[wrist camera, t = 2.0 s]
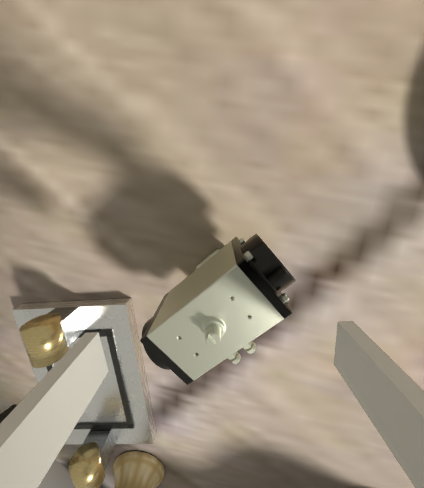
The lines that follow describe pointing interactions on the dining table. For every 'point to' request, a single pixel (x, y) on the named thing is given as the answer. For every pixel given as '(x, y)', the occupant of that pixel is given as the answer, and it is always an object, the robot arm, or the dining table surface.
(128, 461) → the hand bell
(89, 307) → the plate
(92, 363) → the robot arm
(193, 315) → the pneumatic valve
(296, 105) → the dining table surface
